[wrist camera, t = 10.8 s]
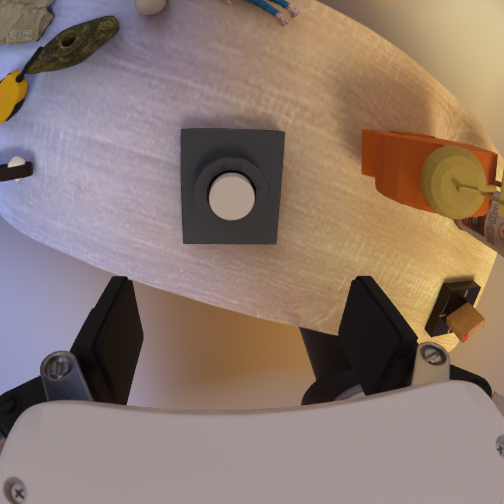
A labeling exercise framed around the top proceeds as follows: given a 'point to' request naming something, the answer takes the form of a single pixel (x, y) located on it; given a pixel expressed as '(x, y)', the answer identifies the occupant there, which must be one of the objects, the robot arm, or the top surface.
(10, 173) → the watch
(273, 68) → the top surface
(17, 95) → the walkie talkie
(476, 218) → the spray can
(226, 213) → the white push button
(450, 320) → the knob
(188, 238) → the dark grey button base
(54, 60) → the decorative stone
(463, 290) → the panel
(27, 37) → the stone
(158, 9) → the chess piece
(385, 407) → the robot arm
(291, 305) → the top surface
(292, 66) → the top surface
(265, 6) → the figurine
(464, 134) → the top surface
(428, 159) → the alarm clock
